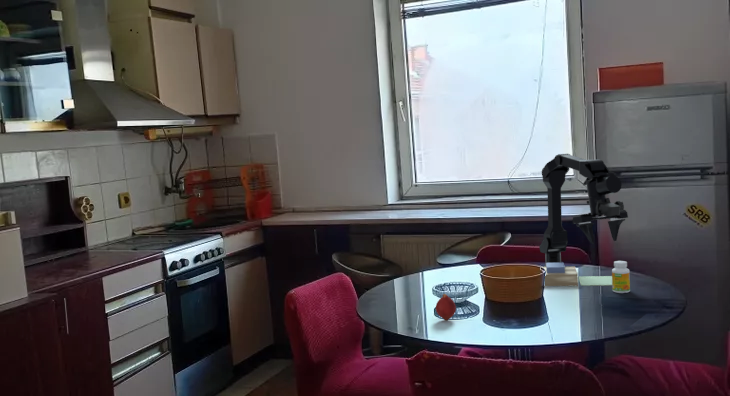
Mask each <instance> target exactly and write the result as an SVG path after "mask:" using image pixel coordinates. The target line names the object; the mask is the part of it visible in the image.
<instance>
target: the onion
mask: <svg viewBox="0 0 730 396" xmlns="http://www.w3.org/2000/svg"><path fill="white" fill-rule="evenodd" d="M435 311H436V314H437V315H438V316H439V317H440V318H442V319H443V320H444V321H448V320H450V319H451V318H452V317H453V316H454V315H455V314H456V311H457V306H456V303H455V302H454V300H453V299H452V297H450V296H449V295H447V294H446V293H443V294H442V297H440V299H438V301H437V302H436V305H435Z"/></svg>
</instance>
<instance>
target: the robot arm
mask: <svg viewBox="0 0 730 396" xmlns="http://www.w3.org/2000/svg"><path fill="white" fill-rule="evenodd" d="M570 169H572V170H575V171H578V173H579V175H581V177H584V178H585V180H584V182H583V183H582V185H583V186H586V191H587V197H588V200H586V205H589V210H590V212H588V213H583V214H582V213H581V214H576V215H573V217H572V219H571V220H572V224H573V225H574V224H576V227H579V228H580V230H581V231H582V232H583V234H584V235H585V237H586V238H587V240H588V241H589V243H590V244H592V245H594V244H595V238H594V231H593V230H594V229H593V226H594V224H595V222H593V221H599V220H607V219H608V221H607V225H608V227H609V231H610V235H611V237H612V241H613V242H617V240H618V236H619V229H620V227H621V224H622V223H623V222H625V221H626V219H627V218H629V213H628V211H627V210H626V209H625V205H624V202H623V201H622V200H616V201H614V202H611V200H610V198H609V197H607V195H611V194H615V193H618V192H619V191H621V189H622V182H621V180H620V178H619V177H618V176H616V175H615V172H613V171H612V172H611V171H610V169H609V168H608V167H607V165H606V164H605V162H604V160H602V159H584V158H582V157H578V156H574V155H573V154H570V153H558V154H557V155H555V157H553V159H551V160H549V161H548V162H547V163H545V164H544V166H543V168H542V170H541V177H542V182H543V184H544V185H545V186H546V188H547V228H546V229H545V231H544V232H543V240H542V241H541V243H540V245H539V247H538V248H539V252H540V253H543V254H545V255H544V256H545V264H544V267H546V263H562V255H561V254H562V253H563V252H565V253H566V252H567V247H568V242H569V240H568V231H567V230H566V229H564V227H563V225H562V224H563V220H562V216H563V215H562V187H563V185H564V184H565V182H566V175H567V174H568V173H569V171H570ZM561 252H562V253H561Z"/></svg>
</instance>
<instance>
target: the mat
mask: <svg viewBox="0 0 730 396" xmlns="http://www.w3.org/2000/svg"><path fill="white" fill-rule="evenodd" d="M578 281H579V283H580V286H582V287H588V286H589V287H593V286H594V287H595V286H597V287H599V286H602V287H603V286H604V287H607V286H610V287H612V275H605V276H604V275H601V276H600V275H598V276H597V275H593V276H592V275H590V276H589V275H588V276H587V275H586V276H580V275H579V276H578Z"/></svg>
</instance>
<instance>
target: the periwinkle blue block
mask: <svg viewBox="0 0 730 396" xmlns="http://www.w3.org/2000/svg"><path fill="white" fill-rule="evenodd" d="M545 265H546V269H547V273H565V267H566V266H565V263H564V262H563V261H562V262H561V263H546V262H545Z"/></svg>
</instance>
